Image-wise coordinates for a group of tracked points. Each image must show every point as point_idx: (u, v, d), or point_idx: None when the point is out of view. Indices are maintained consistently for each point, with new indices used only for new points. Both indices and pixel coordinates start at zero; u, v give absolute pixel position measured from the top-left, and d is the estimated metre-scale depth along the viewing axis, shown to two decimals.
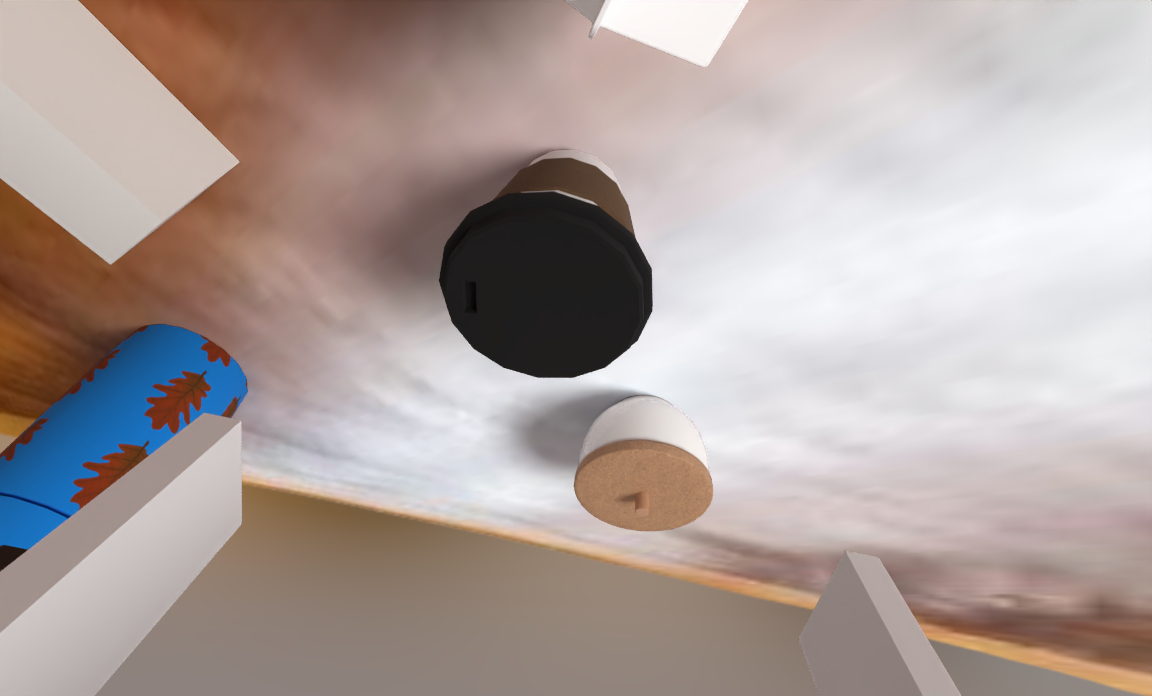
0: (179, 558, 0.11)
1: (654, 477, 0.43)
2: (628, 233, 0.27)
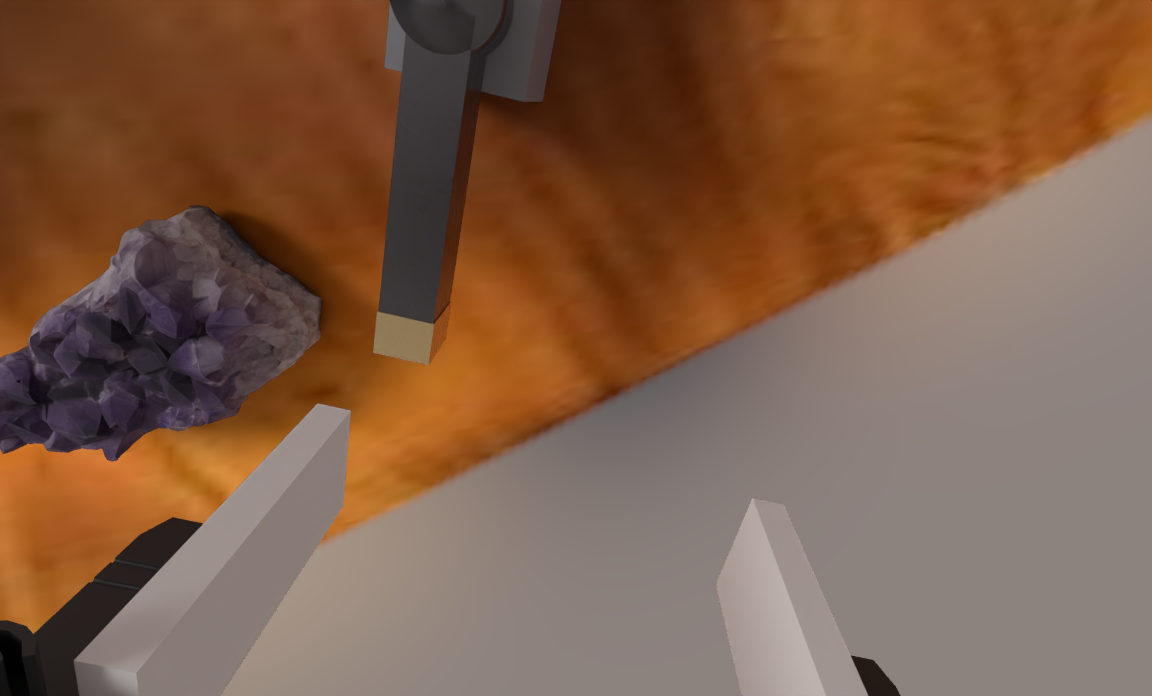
0: (305, 533, 0.12)
1: None
2: None
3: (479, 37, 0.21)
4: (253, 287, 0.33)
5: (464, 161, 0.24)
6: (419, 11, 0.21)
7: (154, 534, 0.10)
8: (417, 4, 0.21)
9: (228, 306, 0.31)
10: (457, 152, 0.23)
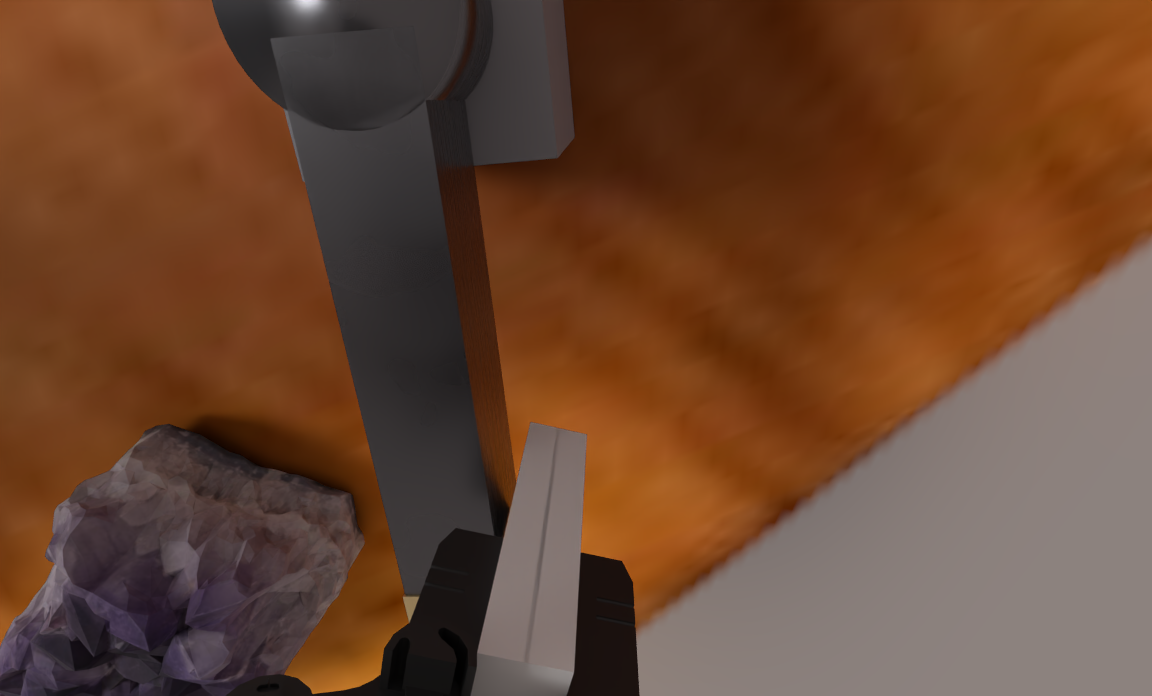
0: None
1: None
2: None
3: (435, 69, 0.10)
4: (247, 524, 0.23)
5: (478, 303, 0.13)
6: (299, 57, 0.10)
7: (449, 543, 0.11)
8: (290, 44, 0.10)
9: (213, 574, 0.21)
10: (459, 304, 0.11)
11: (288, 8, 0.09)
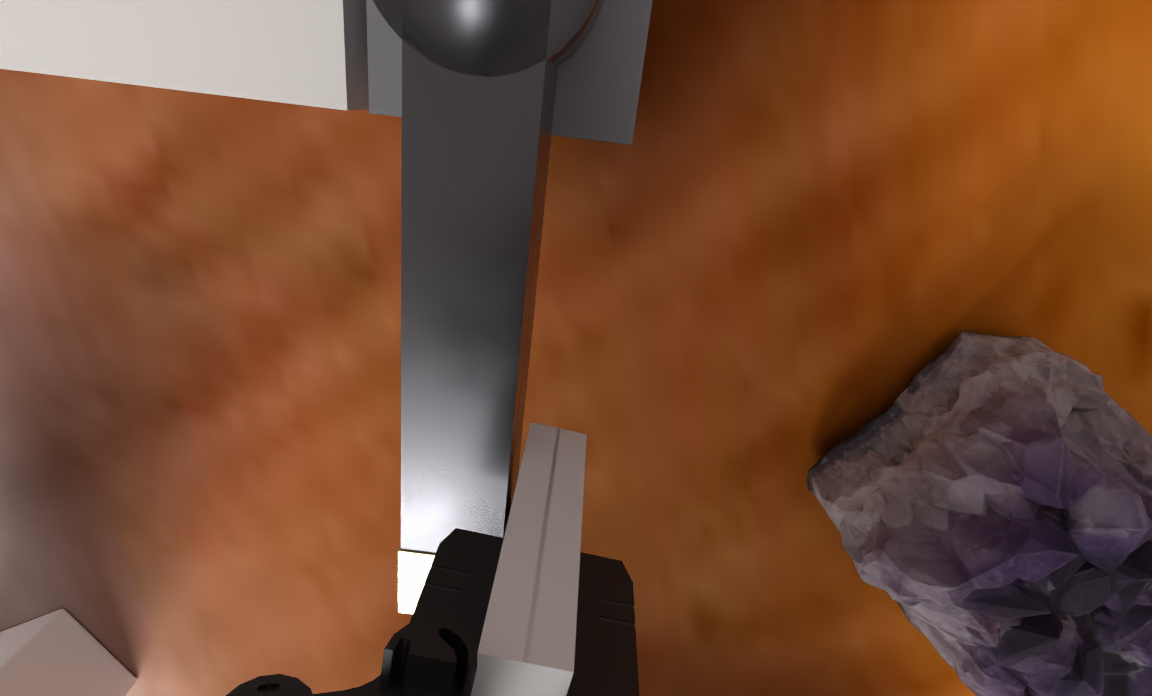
0: None
1: None
2: None
3: (563, 30, 0.10)
4: (957, 426, 0.20)
5: (533, 271, 0.13)
6: None
7: (449, 542, 0.11)
8: None
9: (1008, 468, 0.18)
10: (527, 268, 0.11)
11: None
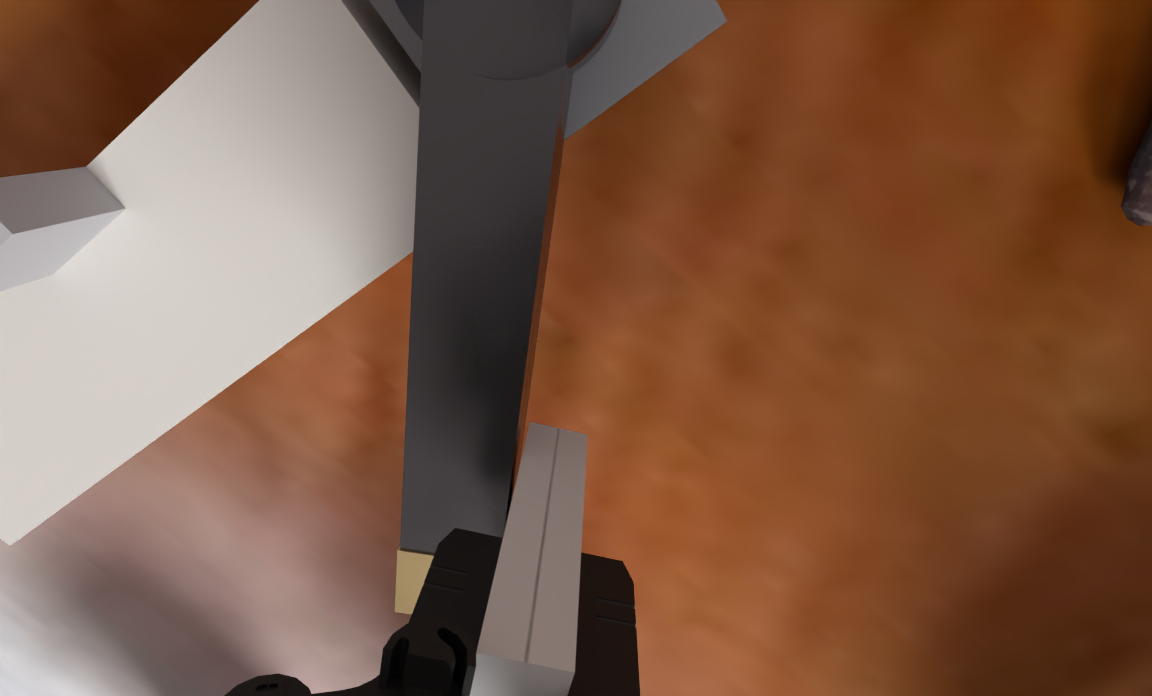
0: None
1: None
2: None
3: (583, 37, 0.10)
4: None
5: (542, 275, 0.13)
6: None
7: (449, 542, 0.11)
8: None
9: None
10: (538, 272, 0.11)
11: None
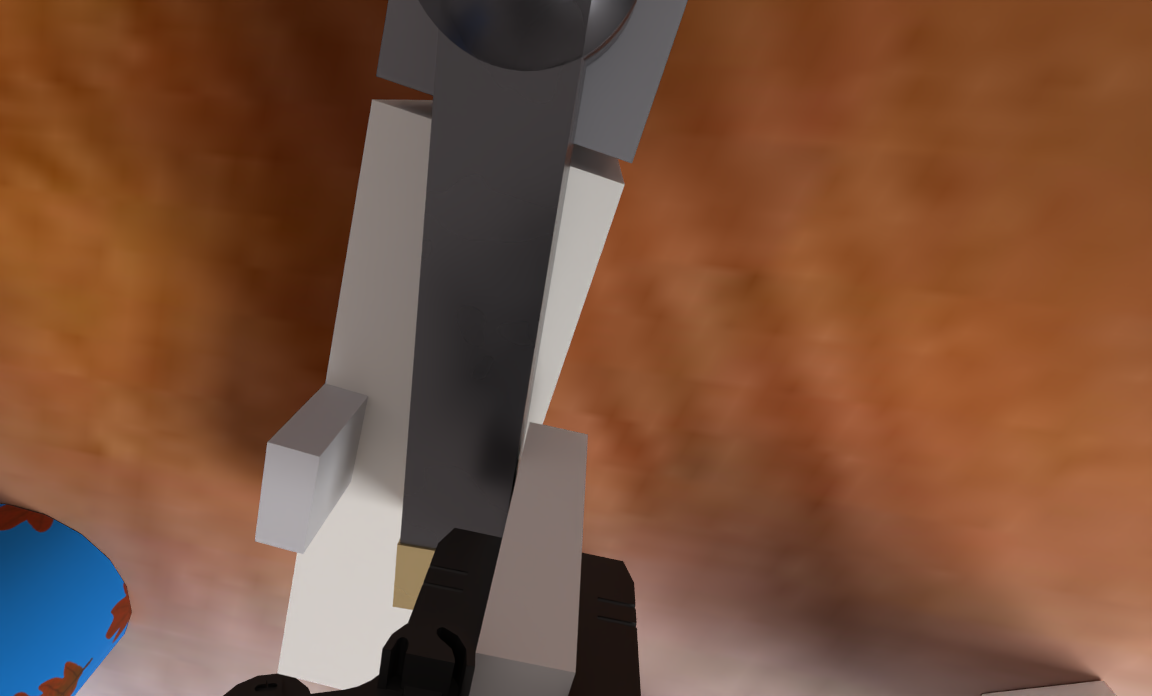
0: None
1: None
2: None
3: (601, 29, 0.10)
4: None
5: (550, 269, 0.13)
6: None
7: (448, 542, 0.11)
8: None
9: None
10: (548, 266, 0.11)
11: None
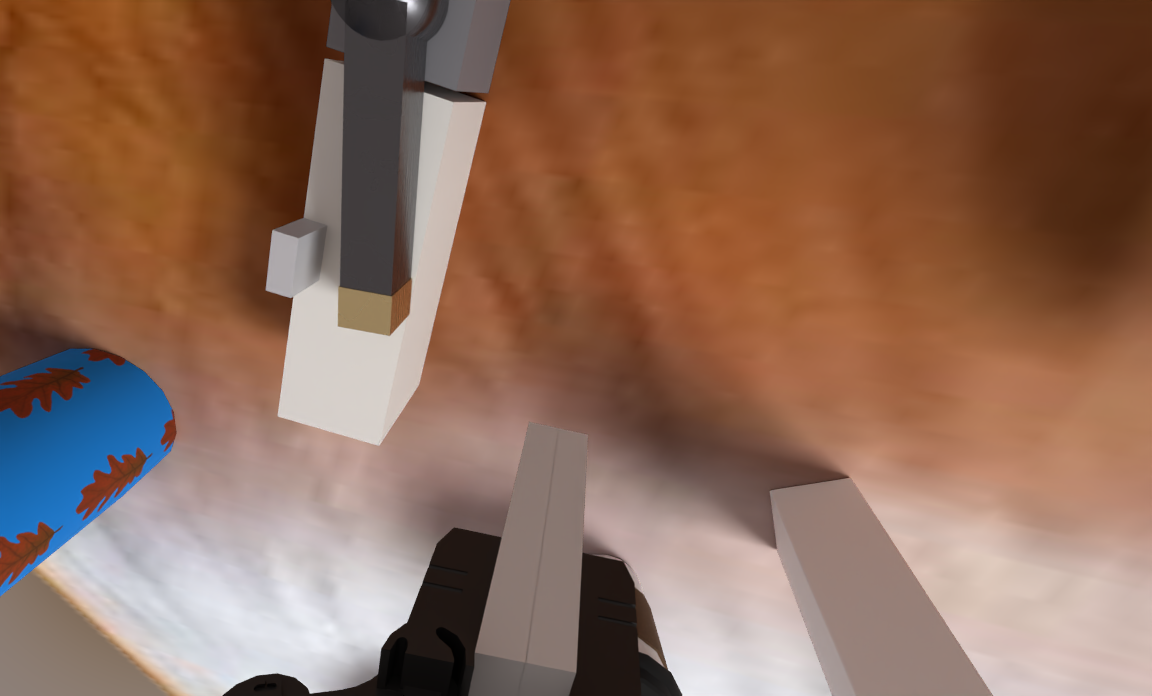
0: None
1: None
2: None
3: (412, 22, 0.23)
4: None
5: (411, 141, 0.26)
6: (355, 1, 0.22)
7: (447, 542, 0.11)
8: None
9: None
10: (401, 132, 0.24)
11: None
